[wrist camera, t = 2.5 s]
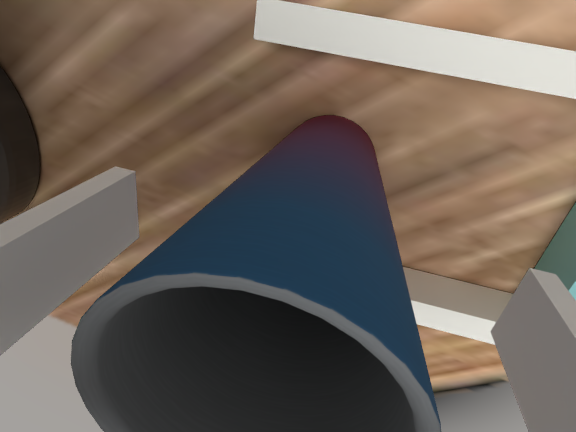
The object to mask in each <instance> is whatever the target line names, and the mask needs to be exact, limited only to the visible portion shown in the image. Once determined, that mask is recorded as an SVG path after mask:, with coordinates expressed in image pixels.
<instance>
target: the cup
mask: <svg viewBox="0 0 576 432" xmlns="http://www.w3.org/2000/svg"><path fill="white" fill-rule="evenodd" d="M71 366H72V370H73V375H74V379H75V384H76V387H77V389H78V391H79V393H80V395H81V397H82V400H83V402H84V404H85V406H86V408H87V409H88V411H89V412H90V414H91V415H92V416H93V418H94V419H95V421H96V422H97V423H98V425H99V426H100V428H101V429H102V430H103V431H104V432H441V424H440V419H439V415H438V411H437V407H436V403H435V398H434V394H433V390H432V386H431V382H430V378H429V374H428V369H427V365H426V361H425V357H424V353H423V349H422V345H421V340H420V336H419V332H418V328H417V324H416V320H415V316H414V311H413V307H412V303H411V299H410V295H409V291H408V287H407V283H406V278H405V274H404V270H403V266H402V262H401V258H400V254H399V249H398V245H397V241H396V237H395V233H394V229H393V225H392V220H391V216H390V212H389V208H388V204H387V200H386V196H385V191H384V187H383V183H382V179H381V175H380V171H379V167H378V163H377V158H376V154H375V150H374V147H373V144H372V142H371V140H370V138H369V137H368V135H367V133H366V132H365V131H364V130H363V129H362V128H361V127H360V126H359V125H357V124H356V123H354V122H353V121H351V120H348V119H346V118H344V117H339V116H334V115H324V116H319V117H314V118H312V119H310V120H307V121H306V122H304V123H303V124H301V125H300V126H298V127H297V128H296V129H295V130H294V131H293V132H291V133H290V134H289V135H288V136H287V137H286V138H284V139H283V140H282V141H281V142H280V143H279V144H277V145H276V146H275V147H274V148H273V149H272V150H270V151H269V152H268V153H267V154H266V155H265V156H263V157H262V158H261V159H260V160H259V161H258V162H257V163H255V164H254V165H253V166H252V167H251V168H250V169H248V170H247V171H246V172H245V173H244V174H243V175H241V176H240V177H239V178H238V179H237V180H236V181H234V182H233V183H232V184H231V185H230V186H229V187H227V188H226V189H225V190H224V191H223V192H222V193H220V194H219V195H218V196H217V197H216V198H215V199H213V200H212V201H211V202H210V203H209V204H208V205H206V206H205V207H204V208H203V209H202V210H201V211H199V212H198V213H197V214H196V215H195V216H194V217H192V218H191V219H190V220H189V221H188V222H187V223H185V224H184V225H183V226H182V227H181V228H180V229H178V230H177V231H176V232H175V233H174V234H173V235H171V236H170V237H169V238H168V239H167V240H166V241H164V242H163V243H162V244H161V245H160V246H159V247H157V248H156V249H155V250H154V251H153V252H152V253H150V254H149V255H148V256H147V257H146V258H145V259H143V260H142V261H141V262H140V263H139V264H138V265H137V266H135V267H134V268H133V269H132V270H131V271H130V272H128V273H127V274H126V275H125V276H124V277H123V278H121V279H120V280H119V281H118V282H117V283H116V284H114V285H113V286H112V287H111V288H110V289H109V290H107V291H106V292H105V293H104V294H103V295H102V296H100V297H99V298H98V299H97V300H96V301H95V302H94V304H93V305H92V306H91V307H90V308H89V309H88V310H87V312H86V313H85V314H84V315H83V316H82V317H81V319H80V322H79V324H78V327H77V329H76V332H75V334H74V337H73V340H72V353H71Z"/></svg>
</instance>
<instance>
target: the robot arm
mask: <svg viewBox="0 0 576 432" xmlns="http://www.w3.org/2000/svg"><path fill="white" fill-rule="evenodd" d="M39 170H40V163H39V152H38V146H37V141H36V137H35V133H34V130H33V127H32V124H31V121H30V119H29V116H28V114H27V111H26V109H25V107H24V105H23V103H22V101H21V99H20V97H19V95H18V93H17V91H16V89H15V88H14V86H13V84H12V83H11V81H10V80H9V78H8V77H7V75H6V74H5V72H4V71H3V69H2V68H1V67H0V355H1V354H3V353H4V352H5V351H6V350H7V349H9V348H10V347H11V346H12V345H13V344H14V343H16V342H17V341H18V340H19V339H20V338H21V337H23V336H24V335H25V334H26V333H27V332H28V331H30V330H31V329H32V328H33V327H34V326H35V325H37V324H38V323H39V322H40V321H41V320H43V319H44V318H45V317H46V316H47V315H48V314H50V313H51V312H52V311H53V310H54V309H56V308H57V307H58V306H59V305H60V304H61V303H63V302H64V301H65V300H66V299H67V298H68V297H70V296H71V295H72V294H73V293H74V292H76V291H77V290H78V289H79V288H80V287H81V286H83V285H84V284H85V283H86V282H87V281H88V280H90V279H91V278H92V277H93V276H94V275H95V274H97V273H98V272H99V271H100V270H101V269H103V268H104V267H105V266H106V265H107V264H108V263H110V262H111V261H112V260H113V259H114V258H115V257H117V256H118V255H119V254H120V253H121V252H122V251H124V250H125V249H126V248H127V247H128V246H130V245H131V244H132V243H133V242H134V241H135V240H137V239H138V238H139V224H138V207H137V191H136V174H135V171H132V170H128V169H124V168H120V167H116V166H115V167H113V168H111V169H109V170H107V171H105V172H103V173H101V174H99V175H97V176H95V177H93V178H91V179H89V180H87V181H85V182H83V183H81V184H79V185H77V186H75V187H73V188H71V189H69V190H67V191H65V192H63V193H61V194H59V195H57V196H56V197H54V198H52V199H50V200H48V201H46V202H44V203H42V204H40V205H38V206H36V207H34V208H32V209H30V210H28V211H26V212H24V213H22V214H20V215H18V216H16V217H14V218H12V219H10V220H8V221H6V222H3V221H5V220H7V219H9V218H11V217H13V216H15V215H17V214H18V213H20V212H21V211H22V210H23V209H25V208H26V207H27V205H28V204H29V203H30V201H31V200H32V198H33V196H34V194H35V191H36V189H37V185H38V180H39ZM1 222H3V223H1ZM491 335H492V337H493V340H494V343H495V345H496V348H497V350H498V353H499V356H500V358H501V361H502V364H503V366H504V369H505V371H506V374H507V377H508V379H509V382H510V385H511V387H512V389H513V392H514V395H515V398H516V400H517V403H518V405H519V408H520V411H521V413H522V416H523V419H524V421H525V424H526V426H527V429H528V432H576V300H575V299H574V298H573V296H572V295H571V294H570V292H569V291H568V290H567V288H566V287H565V286H564V284H563V283H562V282H561V280H560V279H559V278H558V276H557V275H556V274H553V273H549V272H545V271H541V270H536V269H532V268H529V269H528V271H527V273H526V274H525V276H524V278H523V279H522V281H521V282H520V284H519V286H518V287H517V289H516V291H515V292H514V294H513V296H512V297H511V299H510V300H509V302H508V304H507V305H506V307H505V309H504V310H503V312H502V314H501V315H500V317H499V318H498V320H497V322H496V323H495V325H494V327H493V328H492V330H491Z"/></svg>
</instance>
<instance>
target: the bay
mask: <svg viewBox="0 0 576 432" xmlns="http://www.w3.org/2000/svg"><path fill="white" fill-rule="evenodd" d="M254 39H256V40H261V41H267V42H272V43H278V44H283V45H288V46H294V47H299V48H305V49H310V50H315V51H321V52H326V53H331V54H337V55H342V56H348V57H353V58H358V59H364V60H369V61H374V62H380V63H385V64H391V65H396V66H401V67H407V68H412V69H417V70H423V71H428V72H434V73H439V74H444V75H450V76H455V77H460V78H466V79H471V80H477V81H482V82H487V83H493V84H498V85H504V86H509V87H514V88H520V89H525V90H530V91H536V92H541V93H547V94H552V95H557V96H563V97H568V98H573V99H576V51H571V50H565V49H559V48H553V47H547V46H541V45H536V44H530V43H524V42H518V41H512V40H507V39H501V38H495V37H489V36H483V35H478V34H472V33H466V32H460V31H454V30H449V29H443V28H437V27H431V26H425V25H420V24H414V23H408V22H402V21H396V20H390V19H385V18H379V17H373V16H367V15H361V14H356V13H350V12H344V11H338V10H332V9H327V8H321V7H315V6H309V5H303V4H298V3H292V2H286V1H280V0H257V7H256V18H255V28H254ZM534 269H536V270H541V271H545V272H549V273H553V274H556V275H557V276H558V278H559V279H560V280H561V282H562V283H563V284H564V286H565V287H566V288H567V290H568V291H569V292H570V294H571V295H572V296H573V298H574V299H575V300H576V202H575V204H574V206H573V207H572V209H571V210H570V212H569V214H568V215H567V217H566V218H565V220H564V222H563V223H562V225H561V226H560V228H559V230H558V231H557V233H556V234H555V236H554V238H553V239H552V241H551V242H550V244H549V246H548V247H547V249H546V250H545V252H544V254H543V255H542V257H541V258H540V260H539V262H538V263H537V265H536V266H535V268H534ZM403 270H404V274H405V278H406V283H407V287H408V291H409V295H410V299H411V303H412V307H413V311H414V316H415V320H416V324H418V325H422V326H426V327H430V328H433V329H437V330H441V331H445V332H449V333H452V334H456V335H460V336H464V337H468V338H471V339H475V340H479V341H483V342H487V343H490V344H494V345H495V343H494V340H493V337H492V335H491V330H492V328H493V327H494V325H495V323H496V322H497V320H498V318H499V317H500V315H501V314H502V312H503V310H504V309H505V307H506V305H507V304H508V302H509V300H510V299H511V297H512V296H513V294H512V293H508V292H504V291H500V290H496V289H492V288H488V287H483V286H479V285H475V284H471V283H467V282H463V281H459V280H455V279H451V278H447V277H443V276H439V275H435V274H431V273H427V272H423V271H419V270H415V269H411V268H407V267H403Z"/></svg>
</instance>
